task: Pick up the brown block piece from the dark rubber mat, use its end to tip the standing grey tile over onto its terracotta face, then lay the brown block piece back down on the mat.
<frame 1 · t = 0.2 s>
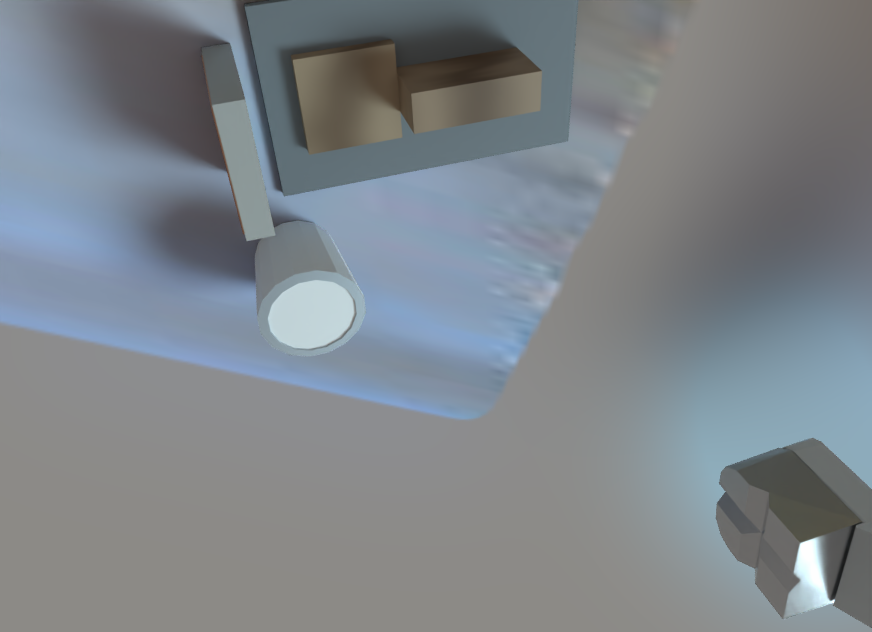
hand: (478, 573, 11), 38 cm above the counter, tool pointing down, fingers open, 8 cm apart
tool rest mat: (424, 79, 48), on the counter
shot glass: (295, 253, 53), on the counter
tile: (238, 140, 42), point 4 cm above the counter
brown block piece: (456, 76, 48), resting on tool rest mat
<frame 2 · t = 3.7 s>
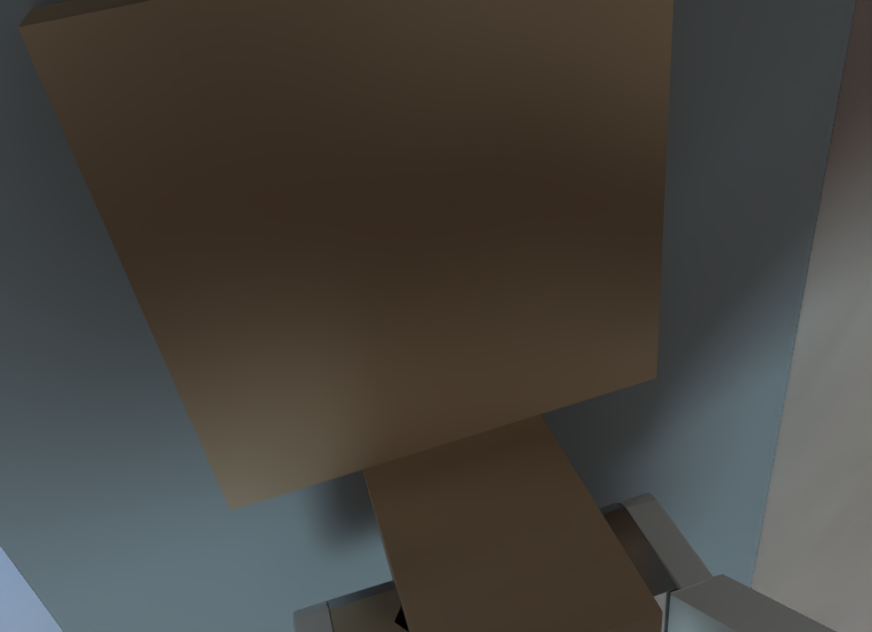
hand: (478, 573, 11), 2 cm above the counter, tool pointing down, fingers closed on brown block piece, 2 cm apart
tool rest mat: (442, 476, 12), on the counter
brown block piece: (467, 575, 13), point 1 cm above the counter, touching gripper, tool rest mat
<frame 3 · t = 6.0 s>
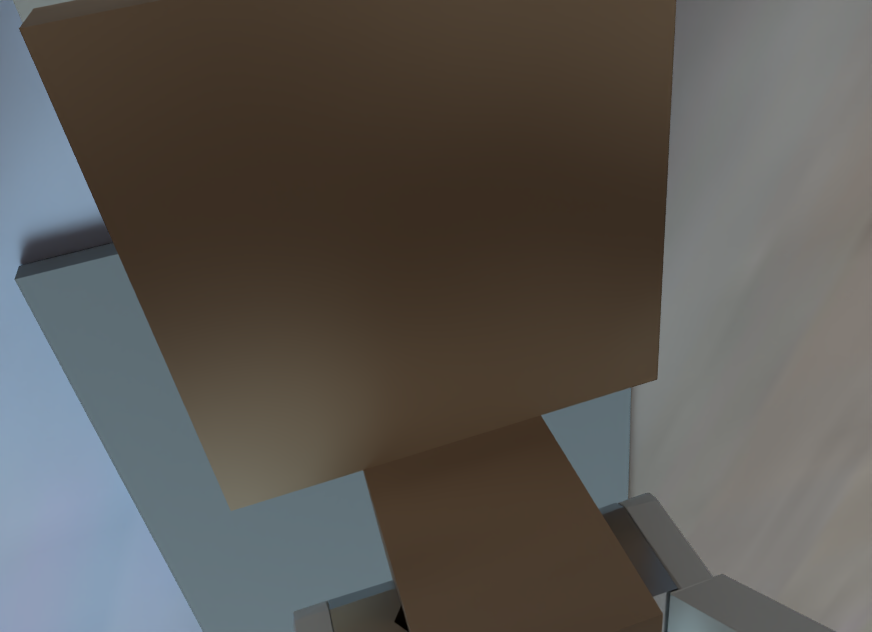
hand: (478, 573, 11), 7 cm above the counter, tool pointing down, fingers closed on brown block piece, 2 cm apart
tool rest mat: (416, 524, 20), on the counter
brown block piece: (467, 575, 13), point 6 cm above the counter, touching gripper
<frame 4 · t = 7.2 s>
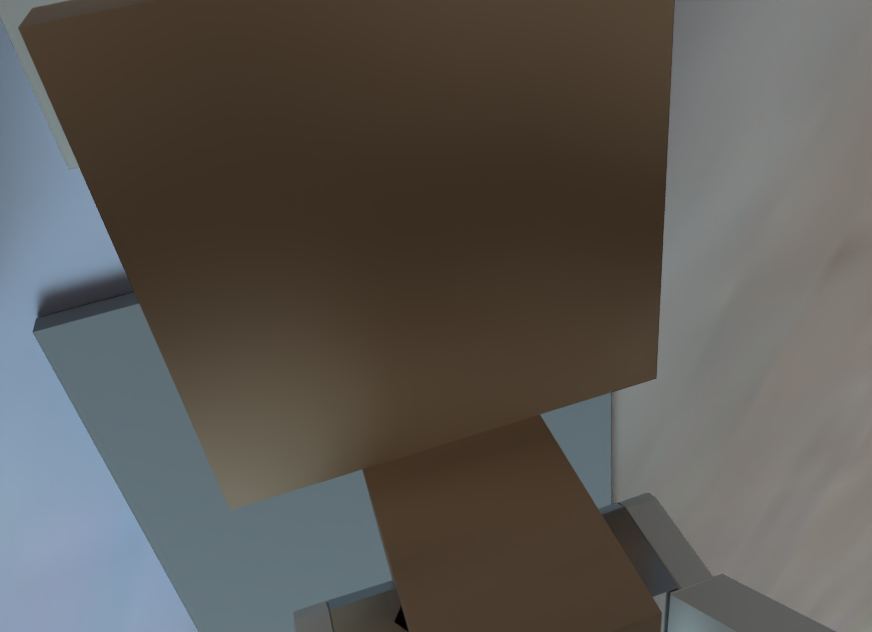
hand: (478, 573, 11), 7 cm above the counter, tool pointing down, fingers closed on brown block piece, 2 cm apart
tool rest mat: (410, 544, 21), on the counter
brown block piece: (466, 575, 13), point 6 cm above the counter, touching gripper
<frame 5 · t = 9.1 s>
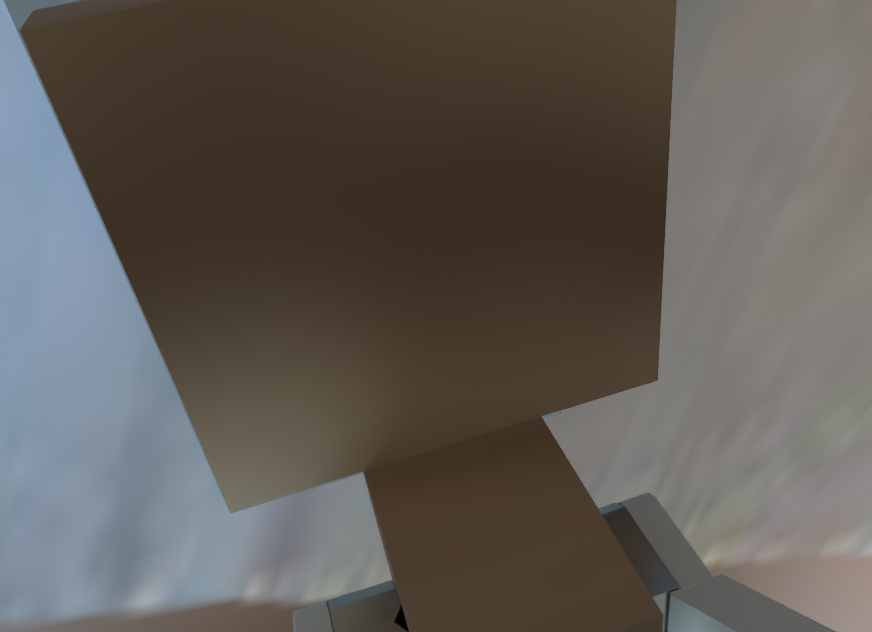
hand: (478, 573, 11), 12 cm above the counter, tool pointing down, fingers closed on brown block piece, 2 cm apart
tool rest mat: (340, 198, 21), on the counter
brown block piece: (467, 576, 13), point 11 cm above the counter, touching gripper
when the fingers open (3 cm above the counter, at t = 10.8 s): brown block piece drops 2 cm, resting on tool rest mat.
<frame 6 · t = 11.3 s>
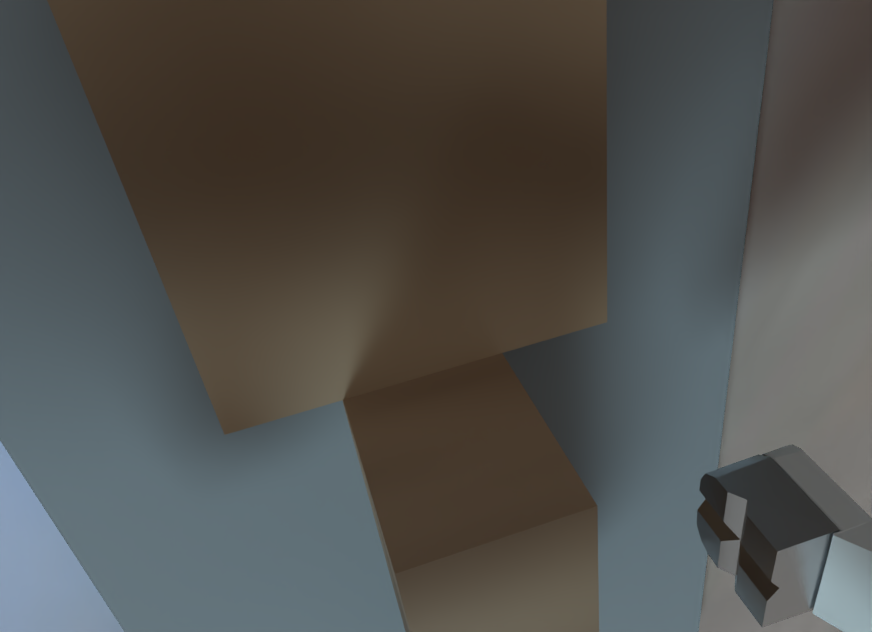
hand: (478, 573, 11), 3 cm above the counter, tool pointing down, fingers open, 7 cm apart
tool rest mat: (417, 418, 14), on the counter
brown block piece: (442, 512, 14), resting on tool rest mat
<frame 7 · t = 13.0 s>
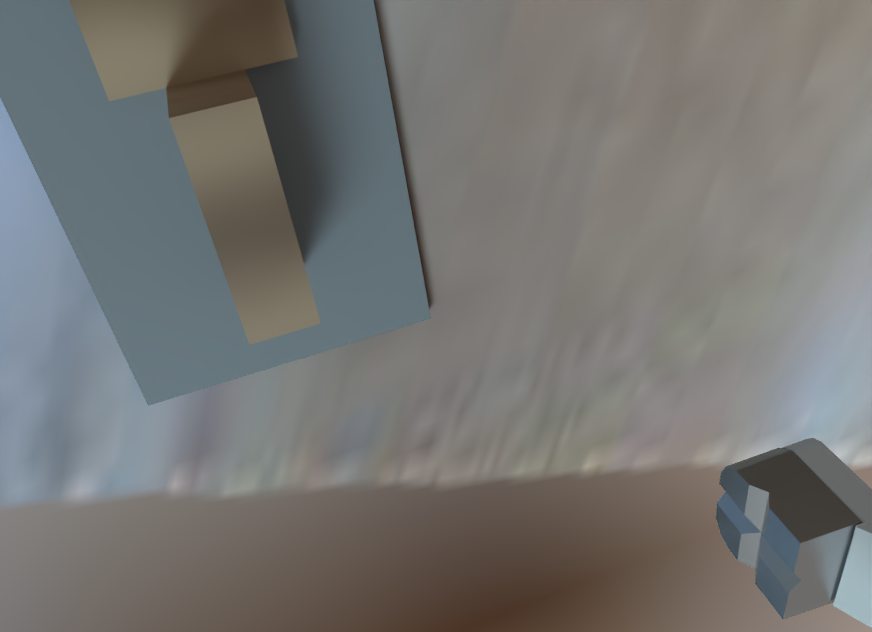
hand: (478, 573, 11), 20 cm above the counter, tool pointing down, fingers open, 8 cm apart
tool rest mat: (220, 126, 26), on the counter
brown block piece: (239, 184, 27), resting on tool rest mat
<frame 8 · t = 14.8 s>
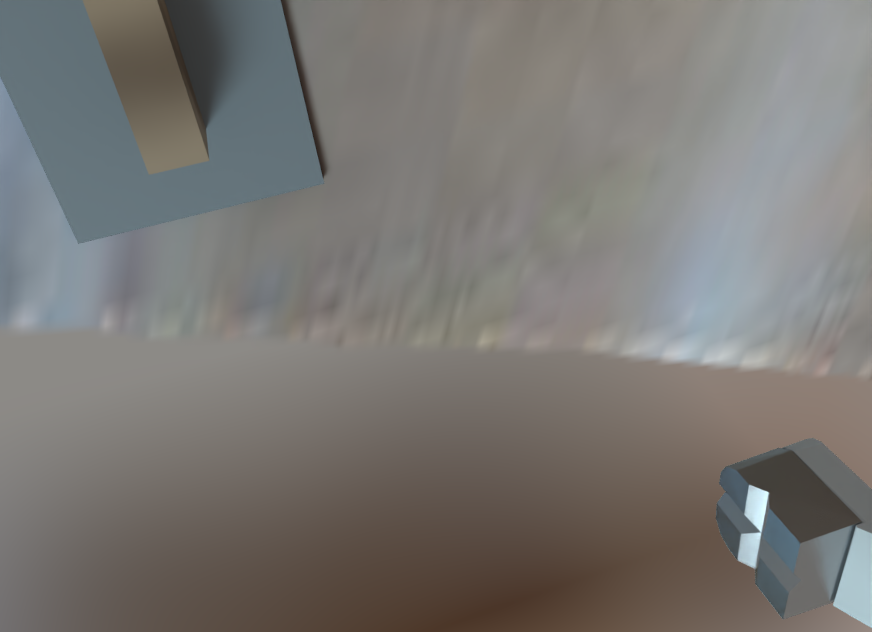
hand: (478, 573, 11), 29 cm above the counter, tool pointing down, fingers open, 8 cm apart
brown block piece: (148, 47, 32), resting on tool rest mat
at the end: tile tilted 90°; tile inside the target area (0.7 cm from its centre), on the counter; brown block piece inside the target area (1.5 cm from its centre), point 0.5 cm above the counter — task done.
